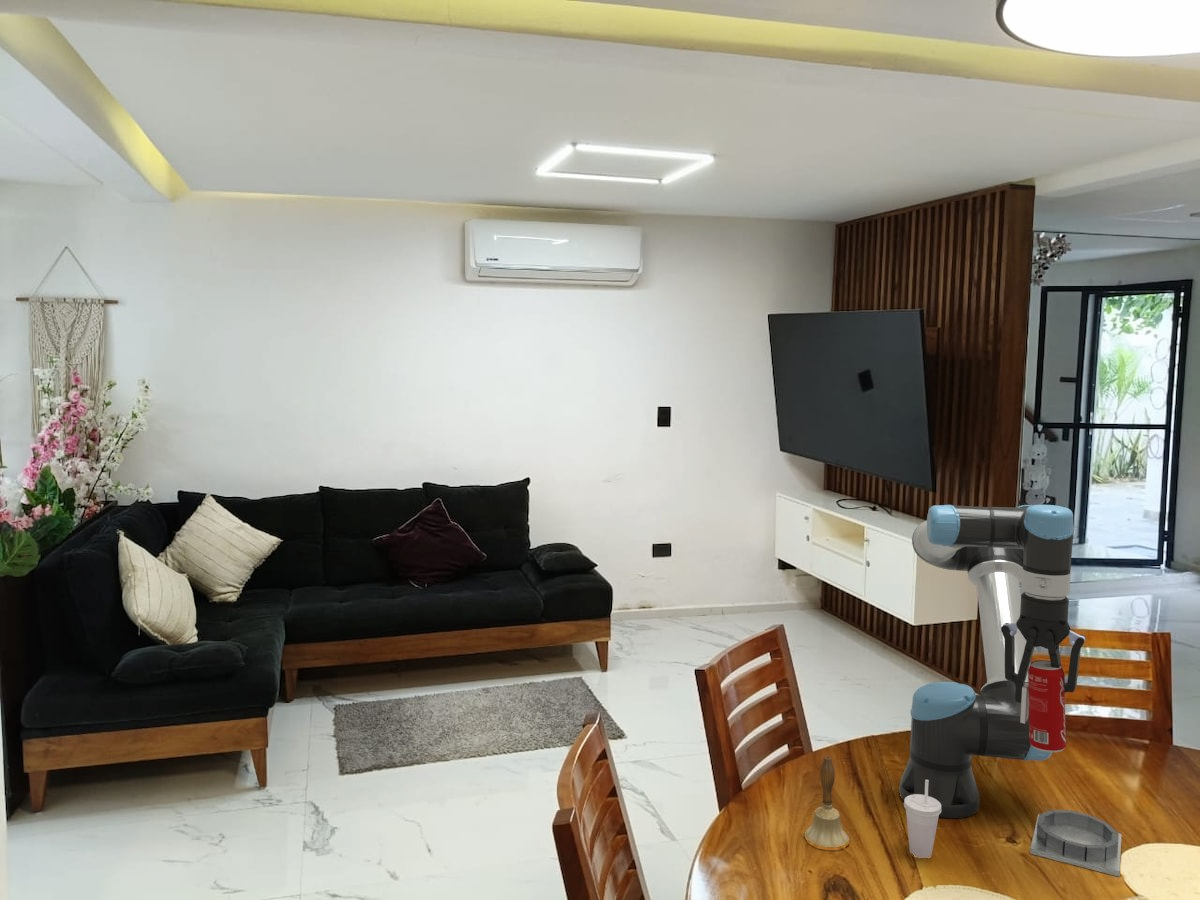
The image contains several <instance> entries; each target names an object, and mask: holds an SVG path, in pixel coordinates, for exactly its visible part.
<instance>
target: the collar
mask: <svg viewBox="0 0 1200 900" xmlns="http://www.w3.org/2000/svg"><path fill="white" fill-rule="evenodd" d="M1034 827H1035V828H1034V831H1033V836H1032V840H1031V845H1030V849H1029V850H1030V852H1029V854H1031V855H1034V856H1038V857H1041V858H1047V859H1050V860H1053V861H1056V862H1057V861H1058V862H1062V863H1064V864H1068V865H1073V866H1076V867H1081V868H1084V869H1089V870H1090V871H1091V870H1092V871H1095V872H1100V873H1103V874H1107V875H1111V876H1113V877H1114V876H1115V877H1119V878H1120V873H1121V872H1120V871H1121V855H1122V852H1121V851H1122V850H1121V849H1122V833H1119V832H1118V831H1117V830H1115V828H1114V827H1113V826H1111V825H1110V823H1108V822H1106V821H1104V820H1103V819H1100V818H1097V817H1096V816H1093V815H1091V814H1088V813H1083V812H1078V811H1074V810H1071V809H1069V810H1068V809H1048V810H1047V811H1045V812H1042V813H1040V814H1039V813H1038V815H1037V817H1036V822H1035V826H1034Z"/></svg>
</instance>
